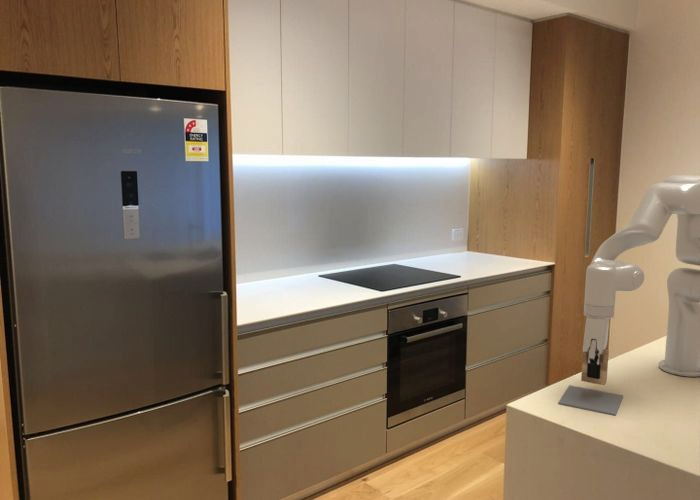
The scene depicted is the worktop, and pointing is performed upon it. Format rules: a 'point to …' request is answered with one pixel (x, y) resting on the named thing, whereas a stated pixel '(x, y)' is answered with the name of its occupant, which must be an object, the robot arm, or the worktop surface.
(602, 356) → the oak slab
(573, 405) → the rubber mat
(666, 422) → the worktop surface
